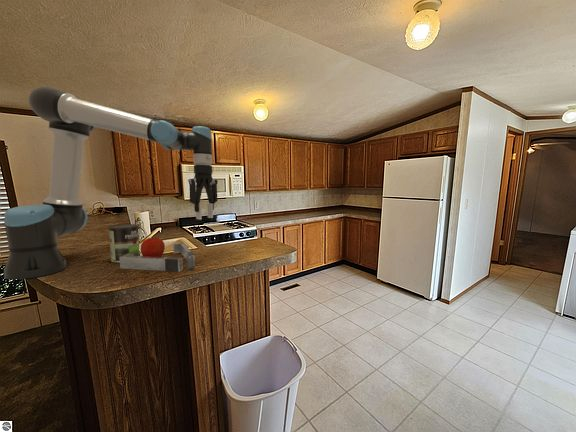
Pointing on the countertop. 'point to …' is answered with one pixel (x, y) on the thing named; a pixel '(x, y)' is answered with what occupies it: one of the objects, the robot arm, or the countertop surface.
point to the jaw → (183, 250)
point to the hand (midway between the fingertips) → (204, 218)
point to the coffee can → (123, 241)
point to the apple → (152, 247)
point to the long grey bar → (155, 263)
